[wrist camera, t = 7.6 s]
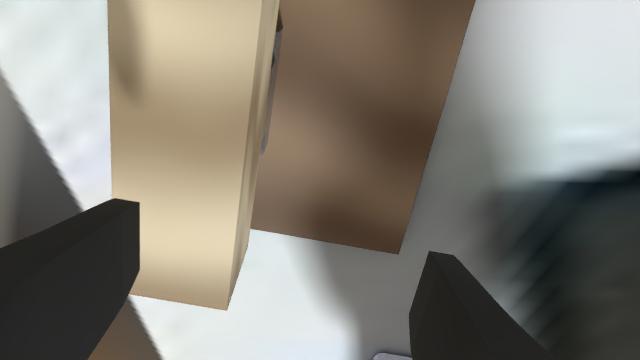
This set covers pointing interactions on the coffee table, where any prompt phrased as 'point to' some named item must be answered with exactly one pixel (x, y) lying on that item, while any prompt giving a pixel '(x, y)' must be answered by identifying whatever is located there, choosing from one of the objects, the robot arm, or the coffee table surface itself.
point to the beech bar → (189, 136)
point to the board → (355, 116)
